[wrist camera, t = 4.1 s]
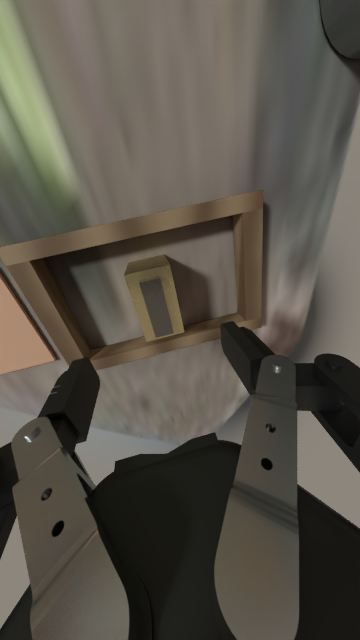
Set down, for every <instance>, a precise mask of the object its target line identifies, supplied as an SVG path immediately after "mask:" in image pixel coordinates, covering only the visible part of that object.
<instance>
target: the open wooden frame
mask: <svg viewBox="0 0 360 640" xmlns="http://www.w3.org/2000/svg"><path fill="white" fill-rule="evenodd" d="M231 215H232V216H233V235H234V255H235V274H236V294H237V313H234V314H230V315H226V316H222V317H218V318H214V319H210V320H206V321H202V322H198V323H195V324H191V325H187V326H183V327H184V333H180V334H176V335H172V336H168V337H164V338H160V339H156V340H152V341H148V342H146V339H145V336H143V337H139V338H136V339H132V340H128V341H124V342H120V343H116V344H112V345H108V346H104V347H100V348H96V349H92V350H91V348H90V347H89V345H88V343H87V341H86V339H85V337H84V335H83V333H82V331H81V329H80V328H79V326H78V324H77V322H76V320H75V318H74V316H73V314H72V312H71V310H70V308H69V307H68V305H67V303H66V301H65V299H64V297H63V295H62V293H61V291H60V289H59V288H58V286H57V284H56V282H55V280H54V278H53V276H52V274H51V272H50V270H49V269H48V267H47V265H46V263H45V261H44V259H43V258H44V257H49V256H53V255H57V254H62V253H66V252H71V251H75V250H80V249H84V248H89V247H93V246H97V245H102V244H106V243H111V242H115V241H120V240H124V239H129V238H133V237H137V236H142V235H146V234H151V233H155V232H160V231H164V230H169V229H173V228H177V227H182V226H186V225H191V224H195V223H200V222H204V221H209V220H213V219H217V218H222V217H226V216H231ZM262 239H263V190H259V191H255V192H250V193H246V194H241V195H236V196H232V197H227V198H223V199H218V200H214V201H209V202H205V203H200V204H195V205H191V206H186V207H182V208H177V209H173V210H168V211H163V212H159V213H154V214H150V215H145V216H141V217H136V218H132V219H127V220H122V221H118V222H113V223H109V224H104V225H100V226H95V227H91V228H86V229H81V230H77V231H72V232H68V233H63V234H59V235H54V236H50V237H45V238H40V239H36V240H31V241H27V242H22V243H18V244H13V245H9V246H4V247H0V257H1V259H2V260H3V262H4V263H5V265H6V267H7V268H8V270H9V271H10V273H11V275H12V276H13V278H14V279H15V281H16V283H17V284H18V286H19V287H20V289H21V291H22V292H23V294H24V295H25V297H26V298H27V300H28V302H29V303H30V305H31V306H32V308H33V310H34V311H35V313H36V314H37V316H38V318H39V319H40V321H41V322H42V324H43V325H44V327H45V329H46V330H47V332H48V333H49V335H50V337H51V338H52V340H53V341H54V343H55V345H56V346H57V348H58V349H59V351H60V352H61V354H62V356H63V357H64V359H65V360H66V362H67V364H68V365H69V367H70V365H71V363H72V361H73V360H77V359H81V358H85V357H87V358H89V359H90V361H91V363H92V365H93V367H94V369H95V370H99V369H103V368H106V367H110V366H114V365H118V364H122V363H126V362H129V361H133V360H137V359H141V358H145V357H149V356H152V355H156V354H160V353H164V352H168V351H172V350H175V349H179V348H183V347H187V346H191V345H195V344H198V343H202V342H206V341H210V340H214V339H218V338H221V332H220V324H222V323H225V322H229V321H234V322H235V324H236V325H237V326H238V327H245V328H248V329H250V330H252V329H256V328H260V327H261V299H262Z"/></svg>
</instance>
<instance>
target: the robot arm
mask: <svg viewBox="0 0 360 640" xmlns="http://www.w3.org/2000/svg"><path fill="white" fill-rule="evenodd" d="M320 7H321V16H322V20H323V24H324V28H325V32H326V34H327V36H328V38H329V40H330V42H331V44H332V45H333V46H334V48H335V49H336V50H337V51H338V52H339V53H340V54H342V55H344V56H345V57H347V58H352V59H360V0H320ZM220 332H221V343H222V348H223V351H224V354H225V355H226V357H227V358H228V360H229V362H230V363H231V365H232V367H233V368H234V370H235V371H236V373H237V375H238V376H239V378H240V379H241V381H242V383H243V384H244V386H245V388H246V389H247V391H248V392H249V394H250V395H253V396H252V400H251V405H250V409H249V414H248V419H247V423H246V428H245V432H244V437H243V442H242V445H239V444H237V443H234V442H230V441H224V440H217V437H216V434H215V432H214V433H211V434H207V435H204V436H201V437H197V438H194V439H191V440H189V441H187V442H186V443H184V444H182V445H181V446H179V447H178V448H176V449H174V450H173V451H171V452H169V453H167V454H139V455H135V456H132V457H129V458H125V459H122V460H118V461H115V469H114V472H112V473H111V474H110V475H108V476H107V477H106V478H104V479H103V480H102V481H101V482H100V483H99V484H98V485H97V486H95V484H94V483H93V481H92V480H91V478H90V476H89V474H88V473H87V471H86V469H85V467H84V465H83V464H82V462H81V460H80V458H79V457H78V455H77V453H76V452H75V446H76V444H77V443H81V442H84V441H86V439H87V435H88V431H89V427H90V423H91V419H92V415H93V411H94V407H95V403H96V399H97V395H98V392H99V388H100V380H99V376H98V374H97V373H96V371H95V369H94V367H93V365H92V363H91V361H90V359H89V358H87V357H85V358H81V359H77V360H73V361H72V363H71V365H70V367H69V369H68V371H65V372H64V373H63V374H62V375H61V376H60V377H59V378H58V380H57V381H56V383H55V385H54V388H53V389H52V391H51V393H50V395H49V397H48V399H47V400H46V402H45V404H44V406H43V408H42V410H41V412H40V414H39V416H38V417H37V418H36V419H34V420H32V421H30V422H29V423H27V424H26V425H24V426H23V427H22V428H21V429H20V430H19V431H18V432H17V433H16V435H15V436H14V438H13V440H12V442H10V443H8V444H7V445H5V446H3V447H1V448H0V558H1V556H2V553H3V551H4V548H5V545H6V543H7V540H8V538H9V535H10V532H11V530H12V527H13V524H14V522H15V519H16V516H17V517H18V522H19V528H20V532H21V537H22V543H23V548H24V553H25V559H26V564H27V569H28V574H29V579H30V585H29V587H28V588H27V590H26V591H25V593H24V594H23V596H22V597H21V599H20V600H19V602H18V603H17V605H16V606H15V608H14V609H13V611H12V612H11V614H10V616H9V617H8V618H7V620H6V622H5V623H4V624H3V626H2V628H1V629H0V640H360V528H358V527H357V526H356V525H354V524H353V523H351V522H350V521H349V520H347V519H346V518H344V517H343V516H342V515H340V514H339V513H337V512H336V511H334V510H333V509H332V508H330V507H329V506H327V505H326V504H325V503H323V502H322V501H321V500H319V499H318V498H316V497H315V496H314V495H312V494H311V493H309V492H308V491H306V490H305V489H304V488H302V487H301V486H299V485H298V484H297V410H302V411H311V412H312V414H313V415H314V416H315V417H316V418H317V420H318V421H319V422H320V423H321V425H322V426H323V427H324V428H325V430H326V431H327V432H328V433H329V435H330V436H331V437H332V438H333V440H334V441H335V442H336V443H337V445H338V446H339V447H340V448H341V450H342V451H343V452H344V453H345V455H346V456H347V457H348V458H349V460H350V461H351V462H352V463H353V465H354V466H355V467H356V468H357V470H358V471H359V472H360V368H359V367H358V366H356V365H355V364H354V363H352V362H351V361H350V360H348V359H346V358H344V357H342V356H339V355H335V354H321V355H318V356H317V357H316V358H315V360H314V363H303V364H302V363H300V364H296V363H293V362H292V361H291V360H290V359H288V358H287V357H284V356H280V355H275V354H274V353H273V352H272V351H271V350H270V349H269V348H268V347H267V346H266V345H265V344H264V343H263V342H262V341H261V340H260V339H259V338H258V337H257V336H256V335H255V334H254V333H253V332H252V331H251V330H250V329H248V328H245V327H238V326H237V325H236V324H235V322H234V321H229V322H225V323H222V324H220Z"/></svg>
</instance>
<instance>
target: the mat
mask: <svg viewBox="0 0 360 640" xmlns="http://www.w3.org/2000/svg"><path fill="white" fill-rule="evenodd" d="M55 360H56V357H55V356H54V354H53V352H52V351H51V349H50V348H49V346H48V345H47V343H46V342H45V340H44V339H43V337H42V336H41V334H40V333H39V331H38V330H37V328H36V327H35V325H34V323H33V322H32V320H31V319H30V317H29V316H28V314H27V313H26V311H25V310H24V308H23V307H22V305H21V304H20V302H19V301H18V299H17V298H16V296H15V294H14V293H13V291H12V290H11V288H10V287H9V285H8V284H7V282H6V281H5V279H4V278H3V276H2V275H1V273H0V375H1V374H5V373H9V372H12V371H16V370H20V369H24V368H28V367H32V366H36V365H40V364H44V363H48V362H52V361H55Z"/></svg>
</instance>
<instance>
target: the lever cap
mask: <svg viewBox="0 0 360 640" xmlns="http://www.w3.org/2000/svg"><path fill="white" fill-rule="evenodd" d="M124 277H125V280H126V283H127V286H128V289H129V292H130V295H131V298H132V301H133V304H134V307H135V309H136V312H137V315H138V318H139V321H140V324H141V327H142V330H143V333H144V336H145V339H146V342H148V341H152V340H156V339H160V338H164V337H168V336H172V335H176V334H180V333H184V327H183V323H182V318H181V313H180V309H179V304H178V299H177V295H176V290H175V285H174V281H173V276H172V271H171V267H170V264H169V262H168V260H167V258H166V257H165V255H160V256H155V257H151V258H147V259H143V260H138V261H134V262H130V263H128V265H127V268H126V271H125V274H124Z"/></svg>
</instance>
